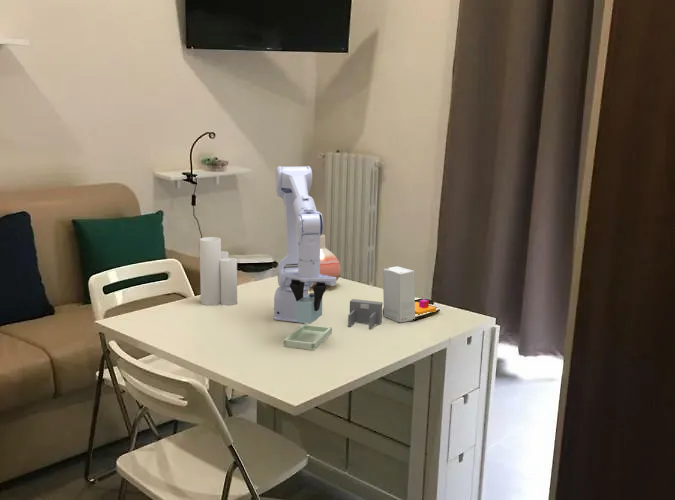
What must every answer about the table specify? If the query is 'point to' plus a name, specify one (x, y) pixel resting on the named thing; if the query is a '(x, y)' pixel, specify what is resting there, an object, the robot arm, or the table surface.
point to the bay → (365, 312)
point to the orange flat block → (423, 307)
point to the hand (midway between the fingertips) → (308, 309)
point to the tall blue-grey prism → (307, 309)
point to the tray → (307, 337)
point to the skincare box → (399, 293)
